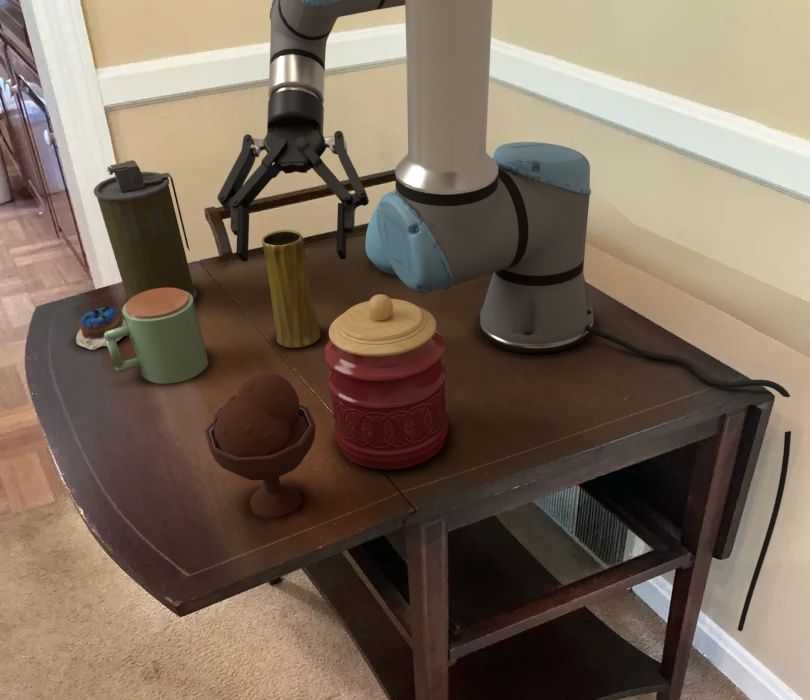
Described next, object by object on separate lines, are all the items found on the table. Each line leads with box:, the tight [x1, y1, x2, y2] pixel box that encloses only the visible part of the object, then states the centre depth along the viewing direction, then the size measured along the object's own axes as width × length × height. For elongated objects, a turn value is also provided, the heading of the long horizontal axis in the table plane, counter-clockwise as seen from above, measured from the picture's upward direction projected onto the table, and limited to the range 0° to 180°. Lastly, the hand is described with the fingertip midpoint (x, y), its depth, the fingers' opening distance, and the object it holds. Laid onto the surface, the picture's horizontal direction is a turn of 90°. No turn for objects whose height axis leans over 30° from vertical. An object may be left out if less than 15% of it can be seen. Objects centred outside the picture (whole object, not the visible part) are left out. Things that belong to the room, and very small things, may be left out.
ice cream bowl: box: [204, 371, 317, 519], centre depth 85 cm, size 11×11×15 cm
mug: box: [104, 288, 209, 385], centre depth 110 cm, size 9×12×9 cm
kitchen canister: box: [323, 293, 449, 471], centre depth 92 cm, size 13×13×18 cm
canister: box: [93, 159, 197, 301], centre depth 123 cm, size 11×10×20 cm
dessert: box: [75, 305, 126, 351], centre depth 121 cm, size 8×7×6 cm
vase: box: [261, 229, 321, 349], centre depth 113 cm, size 6×6×14 cm
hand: (291, 256), depth 113 cm, fingers open, 13 cm apart
